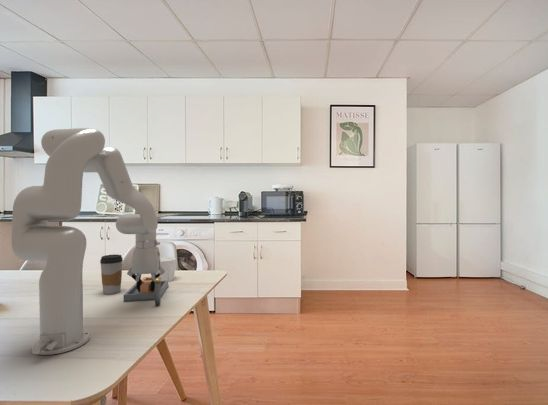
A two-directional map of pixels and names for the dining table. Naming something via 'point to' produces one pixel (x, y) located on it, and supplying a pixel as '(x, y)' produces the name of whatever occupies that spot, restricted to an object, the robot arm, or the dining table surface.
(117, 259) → the coffee cup
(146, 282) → the orange flat handled frame
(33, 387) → the dining table surface
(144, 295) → the tray
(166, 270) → the cup
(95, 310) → the dining table surface
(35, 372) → the dining table surface
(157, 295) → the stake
